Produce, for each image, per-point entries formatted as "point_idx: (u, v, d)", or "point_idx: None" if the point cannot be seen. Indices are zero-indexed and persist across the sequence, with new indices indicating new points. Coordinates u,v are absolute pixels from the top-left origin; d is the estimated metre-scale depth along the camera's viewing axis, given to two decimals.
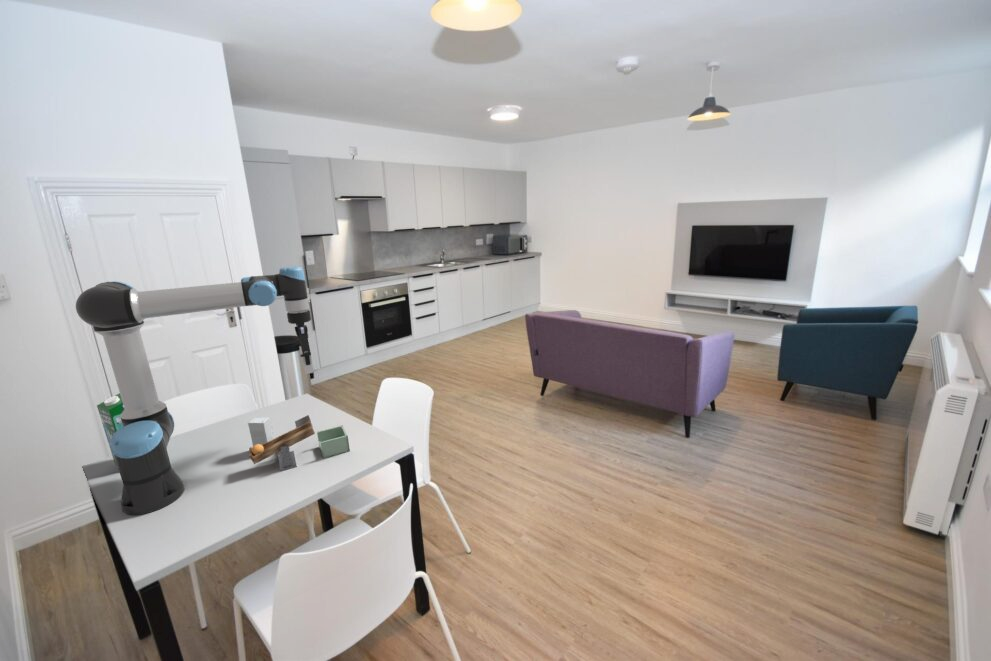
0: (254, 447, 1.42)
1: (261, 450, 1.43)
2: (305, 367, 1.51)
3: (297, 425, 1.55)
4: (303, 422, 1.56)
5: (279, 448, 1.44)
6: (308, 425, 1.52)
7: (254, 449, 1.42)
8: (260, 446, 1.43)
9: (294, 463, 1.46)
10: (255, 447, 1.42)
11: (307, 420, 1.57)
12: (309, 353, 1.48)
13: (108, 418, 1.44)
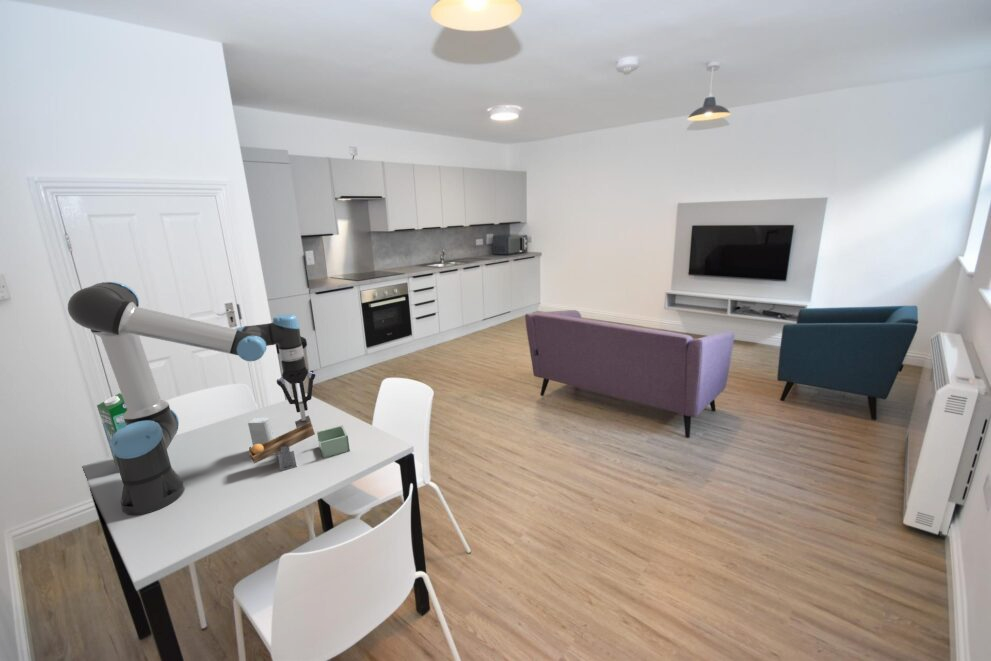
0: (254, 446, 1.42)
1: (261, 450, 1.43)
2: (300, 412, 1.58)
3: (297, 425, 1.56)
4: (303, 422, 1.56)
5: (279, 448, 1.44)
6: (308, 425, 1.52)
7: (254, 448, 1.42)
8: (260, 446, 1.43)
9: (294, 463, 1.46)
10: (255, 447, 1.42)
11: (307, 420, 1.57)
12: None
13: (108, 418, 1.44)
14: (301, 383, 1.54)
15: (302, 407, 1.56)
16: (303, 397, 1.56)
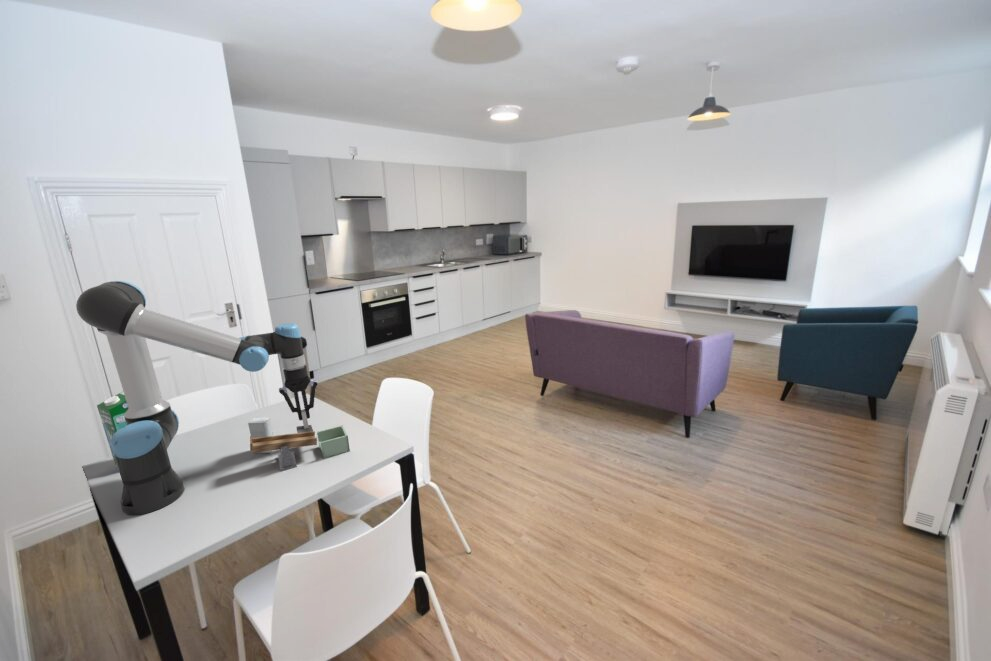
0: None
1: None
2: None
3: (299, 431, 1.56)
4: (305, 430, 1.57)
5: (279, 446, 1.44)
6: (311, 434, 1.53)
7: None
8: None
9: (294, 463, 1.46)
10: None
11: (310, 429, 1.58)
12: (292, 411, 1.55)
13: (108, 418, 1.44)
14: (303, 391, 1.55)
15: (304, 415, 1.57)
16: (305, 405, 1.57)
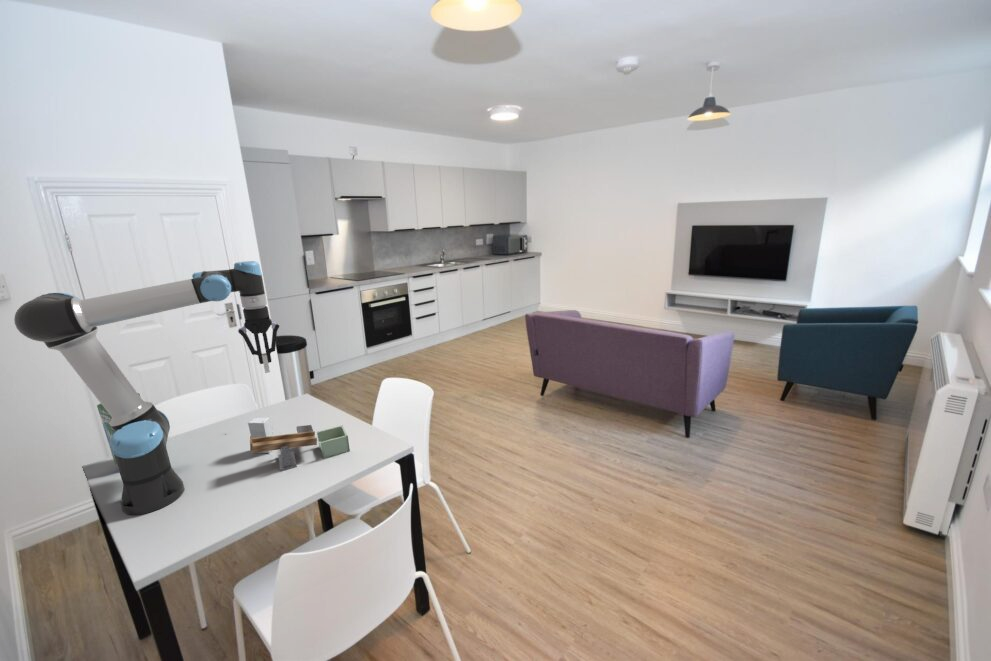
0: None
1: None
2: None
3: (299, 431, 1.56)
4: (305, 430, 1.57)
5: (279, 446, 1.44)
6: (311, 434, 1.53)
7: None
8: None
9: (294, 463, 1.46)
10: None
11: (310, 429, 1.58)
12: (252, 353, 1.50)
13: (108, 418, 1.44)
14: (264, 333, 1.50)
15: (265, 358, 1.52)
16: (266, 348, 1.52)
